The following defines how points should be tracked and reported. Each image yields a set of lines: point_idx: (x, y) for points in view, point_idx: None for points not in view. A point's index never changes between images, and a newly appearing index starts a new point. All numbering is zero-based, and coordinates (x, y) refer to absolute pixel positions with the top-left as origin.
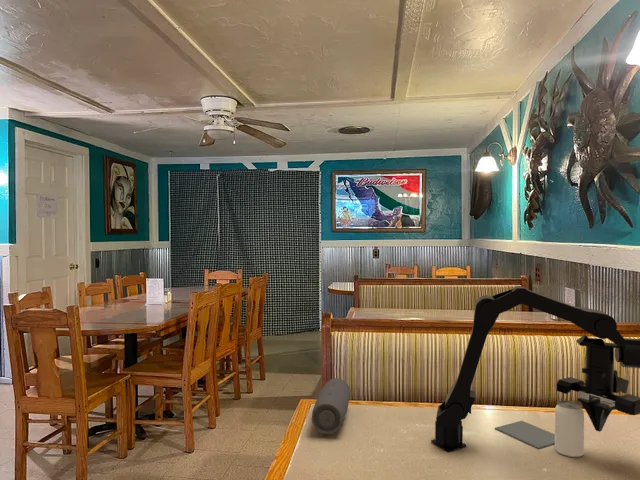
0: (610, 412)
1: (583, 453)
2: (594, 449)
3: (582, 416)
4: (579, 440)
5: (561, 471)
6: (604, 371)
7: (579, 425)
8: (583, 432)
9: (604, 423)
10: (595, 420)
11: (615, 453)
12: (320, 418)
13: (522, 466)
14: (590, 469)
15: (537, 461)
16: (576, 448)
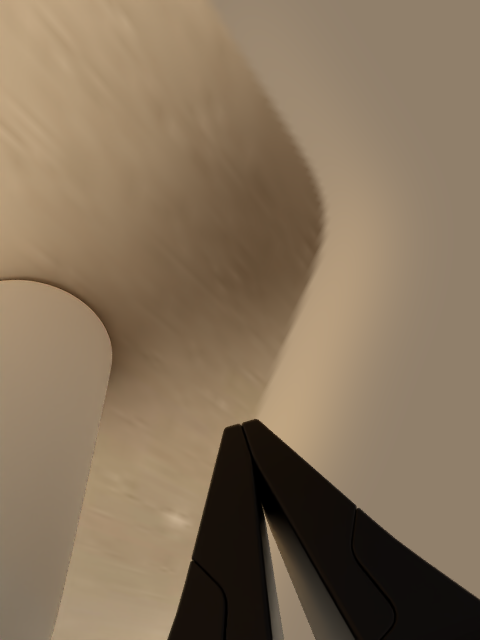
0: (468, 594)
1: (92, 312)
2: (7, 158)
3: (36, 555)
4: (99, 404)
5: (208, 479)
6: None
7: (79, 501)
8: (68, 396)
9: (307, 468)
10: (271, 569)
11: (92, 51)
12: None
13: (138, 570)
14: (229, 372)
15: (111, 517)
16: (106, 390)
